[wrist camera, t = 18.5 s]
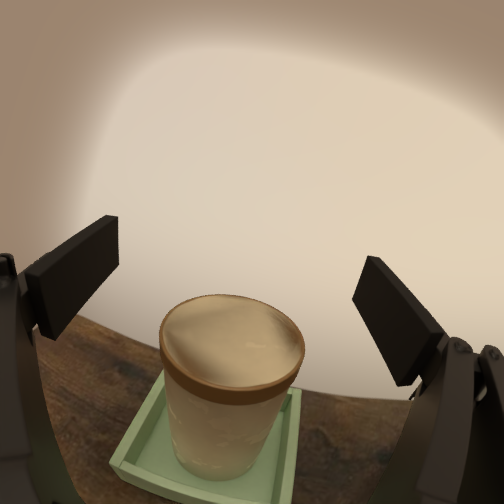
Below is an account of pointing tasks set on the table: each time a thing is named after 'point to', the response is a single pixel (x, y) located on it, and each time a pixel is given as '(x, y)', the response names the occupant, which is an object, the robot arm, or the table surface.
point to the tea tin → (225, 380)
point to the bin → (194, 488)
